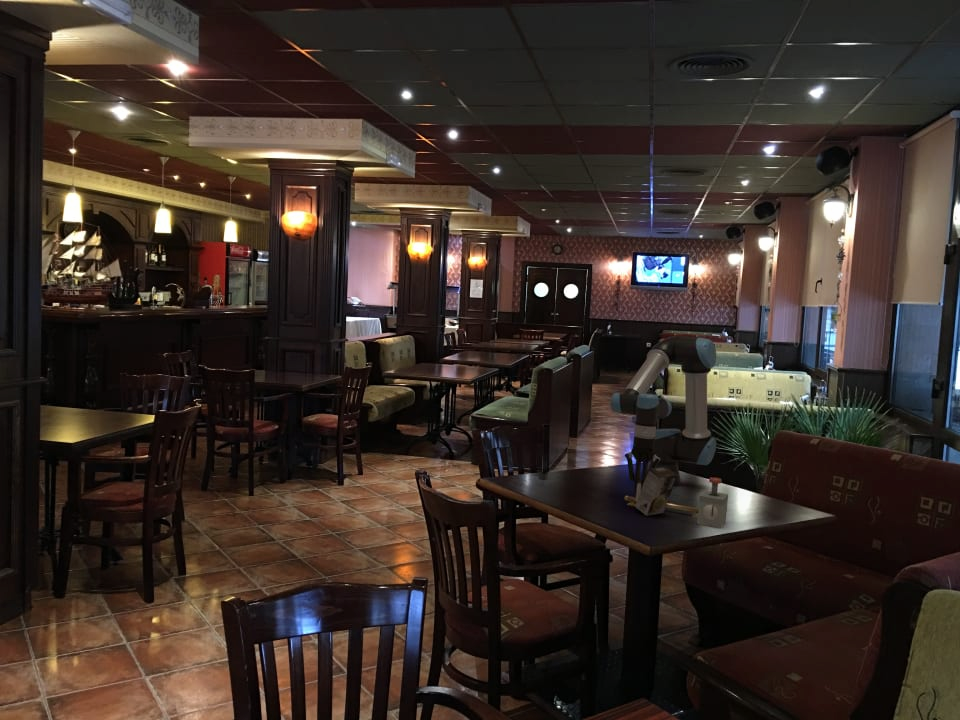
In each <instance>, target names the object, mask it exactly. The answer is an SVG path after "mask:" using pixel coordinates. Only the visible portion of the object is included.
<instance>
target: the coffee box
mask: <svg viewBox="0 0 960 720" xmlns="http://www.w3.org/2000/svg"><path fill="white" fill-rule="evenodd" d="M676 478H677V475H676V474H675V473H674V472H673V471H671V470H670V469H669V468H667V467H666V466H664V467H656V468H649V470H648V473H647V476H646V478H645V481H644V484H643V487H642V489H641V492H640V495H639V497H638V500H637V502H635V504H636V505H635V506H634V507H635V508H636V509H637V510H639V511H640V513H643V514H644V515H645V516H647V517H648V516H653V515H655V516H656V515H658V514H660V515H661V514H663V513H665V509H666V508H667V507H666V504H667V503H669V500H670V499H669V498H670V496H671V493H672V490H673V488H674V487H675V486H674V483H675V480H676Z"/></svg>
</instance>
